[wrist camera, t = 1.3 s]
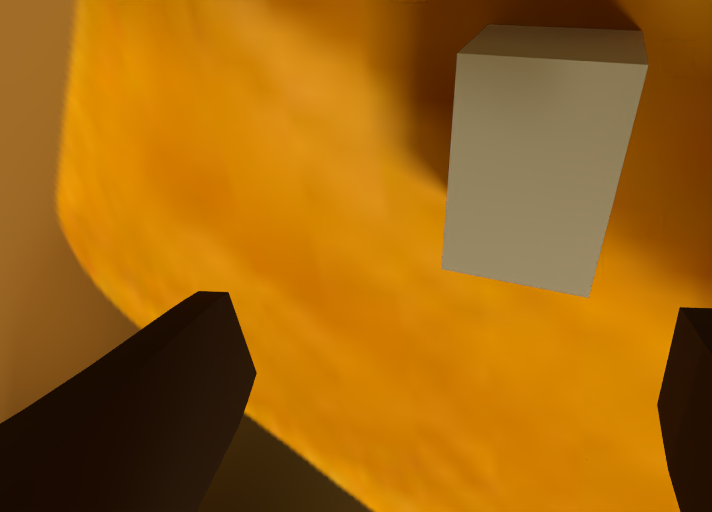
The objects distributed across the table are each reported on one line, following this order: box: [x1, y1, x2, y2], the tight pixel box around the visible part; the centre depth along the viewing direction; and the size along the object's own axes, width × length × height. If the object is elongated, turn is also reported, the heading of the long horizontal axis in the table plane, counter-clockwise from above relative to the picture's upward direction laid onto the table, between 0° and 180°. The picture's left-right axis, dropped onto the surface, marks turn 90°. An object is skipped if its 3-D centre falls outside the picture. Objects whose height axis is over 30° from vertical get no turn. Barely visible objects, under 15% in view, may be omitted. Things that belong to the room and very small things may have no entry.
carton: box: [442, 24, 648, 298], centre depth 15 cm, size 4×6×4 cm, turn 2°
